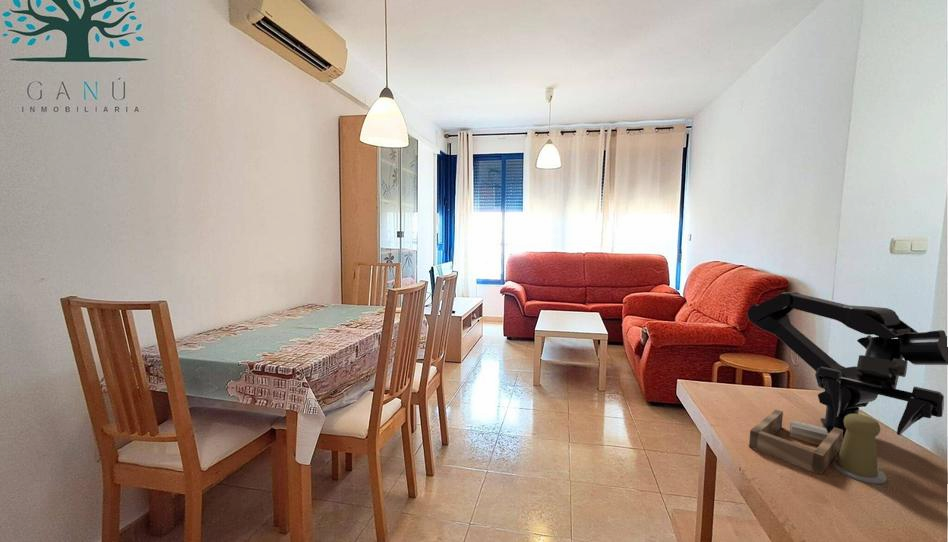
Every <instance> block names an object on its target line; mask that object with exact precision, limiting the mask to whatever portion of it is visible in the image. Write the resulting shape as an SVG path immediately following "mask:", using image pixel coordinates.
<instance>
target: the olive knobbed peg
mask: <svg viewBox="0 0 948 542" xmlns="http://www.w3.org/2000/svg"><path fill="white" fill-rule="evenodd" d="M844 426H845V428H846V433H845V434H844V437H843V438H842V445H841V448H840V449H839V451H838V452H839V453H838V455H837V458H836V459H837V461H836V463H837V465H838V466H839V467H841V468H842V469H843V470H845V471H847V472H850V473H852V474H855V475H858V476H861V477H867V478H875V477H877V476H878V470H879V468H878V457H877V443H876V441H877V440H876V438H877V436H879V434H880V432H881V426H880V423H879V422H878V421H877V420H875V419H874V418H872V417H870V416H868V415H863V414H861V413H859V414H848V415H847V416H845V418H844Z"/></svg>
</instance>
